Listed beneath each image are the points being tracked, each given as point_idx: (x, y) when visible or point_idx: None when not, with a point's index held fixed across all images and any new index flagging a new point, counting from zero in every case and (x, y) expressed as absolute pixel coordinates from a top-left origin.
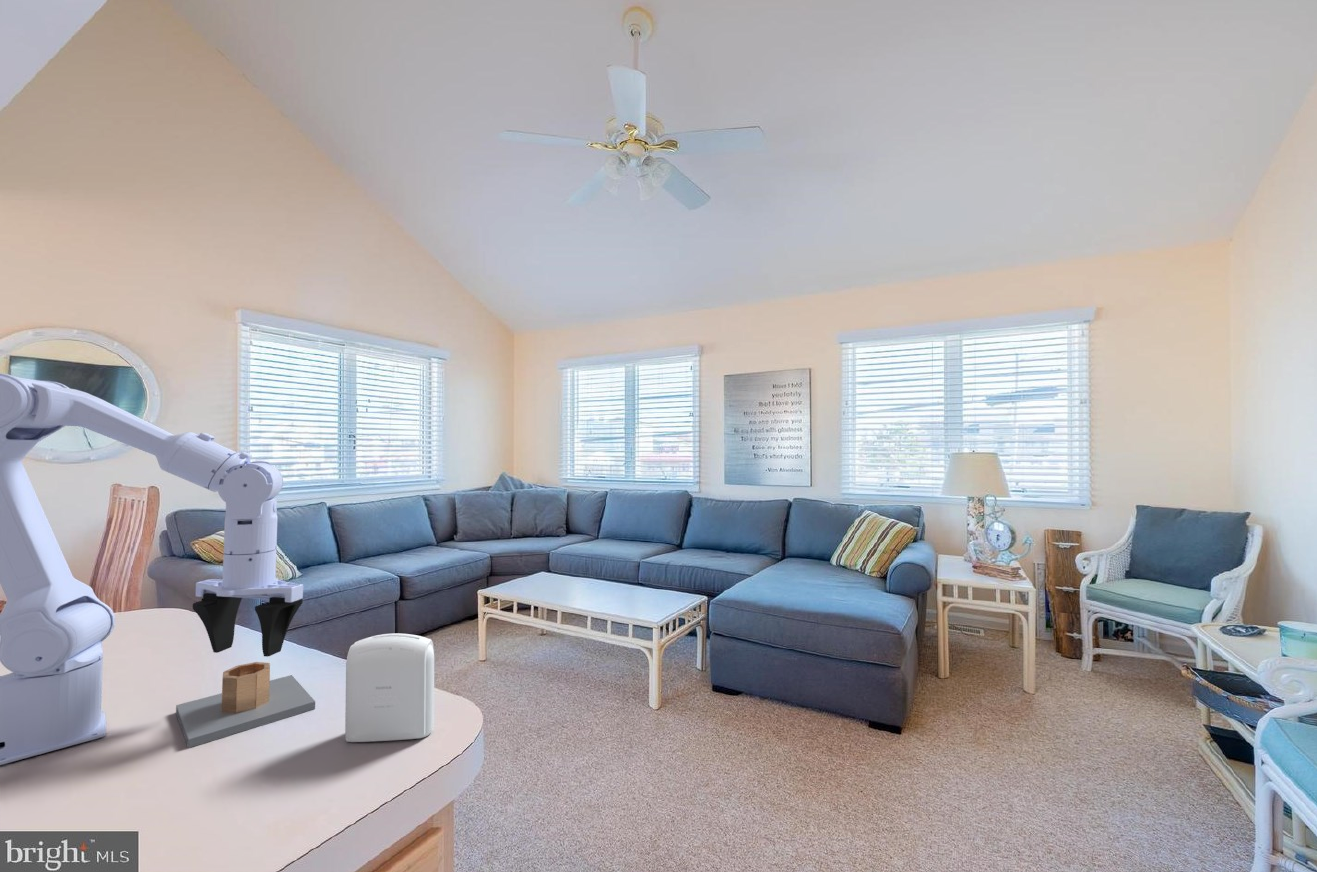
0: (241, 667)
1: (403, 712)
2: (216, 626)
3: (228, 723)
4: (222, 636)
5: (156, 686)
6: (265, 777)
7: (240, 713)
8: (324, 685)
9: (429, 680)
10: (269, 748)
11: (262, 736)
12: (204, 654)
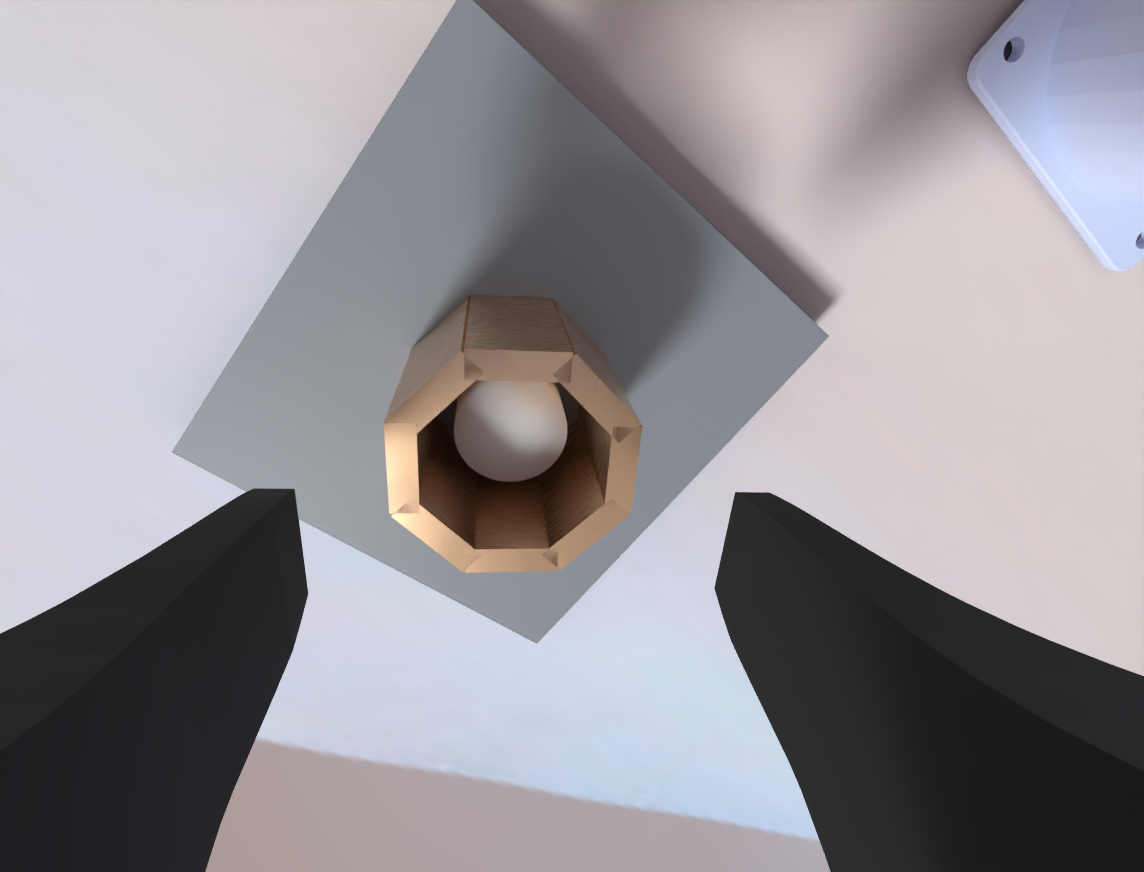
0: (594, 504)
1: None
2: (858, 639)
3: (406, 188)
4: (775, 600)
5: (1054, 509)
6: None
7: (443, 295)
8: (358, 617)
9: None
10: (6, 30)
11: (183, 155)
12: None
